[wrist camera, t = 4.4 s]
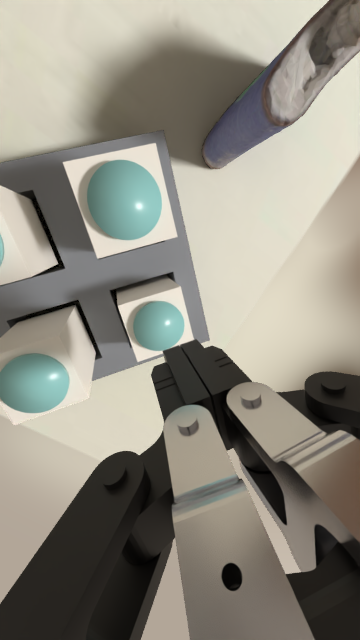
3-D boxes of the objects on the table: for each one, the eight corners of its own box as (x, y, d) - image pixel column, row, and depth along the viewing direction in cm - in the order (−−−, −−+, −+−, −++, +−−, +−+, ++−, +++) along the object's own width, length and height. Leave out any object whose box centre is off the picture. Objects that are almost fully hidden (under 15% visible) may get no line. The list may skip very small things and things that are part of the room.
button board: (-68, 193, 16) (-106, 184, 13) (155, 146, 18) (163, 130, 15) (37, 382, 21) (25, 404, 19) (198, 328, 24) (209, 340, 21)
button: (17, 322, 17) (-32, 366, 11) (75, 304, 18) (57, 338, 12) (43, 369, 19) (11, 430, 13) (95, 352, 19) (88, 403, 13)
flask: (213, 177, 20) (312, 118, 10) (190, 143, 19) (277, 37, 9) (298, 95, 20) (486, -48, 10) (280, 55, 18) (473, -153, 9)
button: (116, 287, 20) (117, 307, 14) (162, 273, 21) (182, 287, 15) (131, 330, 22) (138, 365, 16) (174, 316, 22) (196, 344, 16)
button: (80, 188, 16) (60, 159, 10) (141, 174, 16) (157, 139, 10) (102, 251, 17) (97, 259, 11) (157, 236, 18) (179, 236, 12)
